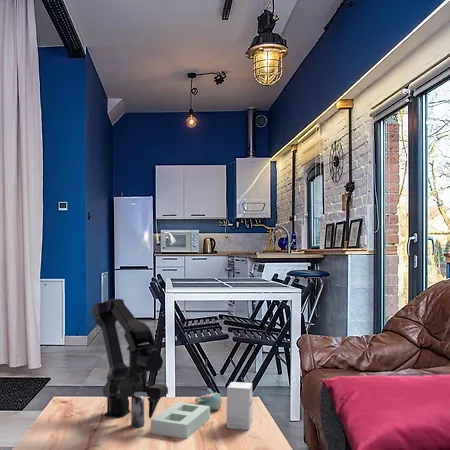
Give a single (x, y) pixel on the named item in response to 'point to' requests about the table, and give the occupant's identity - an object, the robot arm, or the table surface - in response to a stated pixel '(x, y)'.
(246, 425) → the supplement box
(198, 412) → the socket board
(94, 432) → the table surface
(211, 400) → the stuffed animal
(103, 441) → the table surface
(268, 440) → the table surface
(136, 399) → the steel pin
